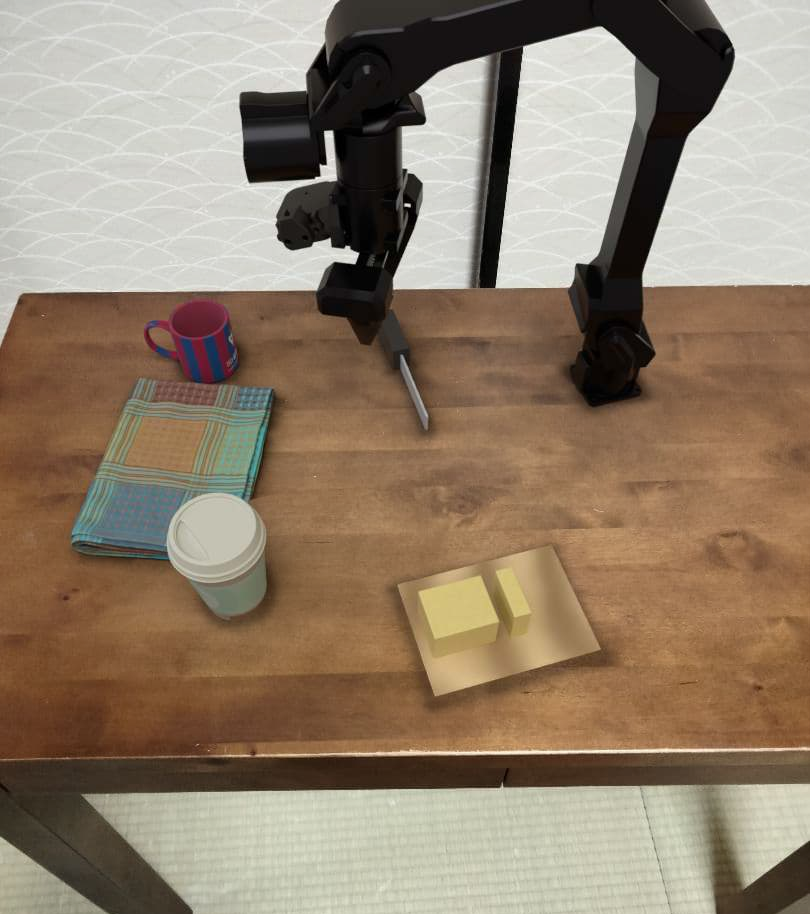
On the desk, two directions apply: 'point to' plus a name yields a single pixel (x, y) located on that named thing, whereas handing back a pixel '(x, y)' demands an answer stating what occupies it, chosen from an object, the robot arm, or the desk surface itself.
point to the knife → (400, 358)
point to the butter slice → (511, 602)
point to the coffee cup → (220, 552)
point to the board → (548, 634)
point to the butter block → (457, 616)
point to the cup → (199, 340)
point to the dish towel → (171, 462)
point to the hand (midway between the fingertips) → (376, 312)
